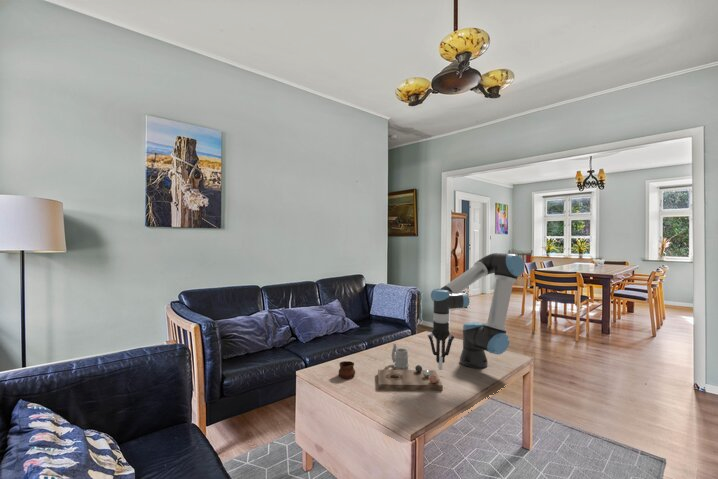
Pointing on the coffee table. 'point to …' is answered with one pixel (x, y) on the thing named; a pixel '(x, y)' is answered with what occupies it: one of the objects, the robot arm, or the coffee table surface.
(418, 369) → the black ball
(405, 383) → the deck
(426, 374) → the steel ball
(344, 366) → the ceramic pot
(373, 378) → the coffee table surface
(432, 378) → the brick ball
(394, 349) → the mug
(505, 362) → the coffee table surface
